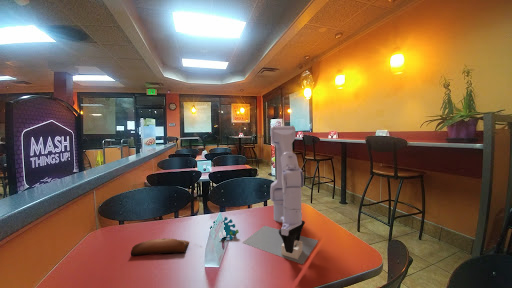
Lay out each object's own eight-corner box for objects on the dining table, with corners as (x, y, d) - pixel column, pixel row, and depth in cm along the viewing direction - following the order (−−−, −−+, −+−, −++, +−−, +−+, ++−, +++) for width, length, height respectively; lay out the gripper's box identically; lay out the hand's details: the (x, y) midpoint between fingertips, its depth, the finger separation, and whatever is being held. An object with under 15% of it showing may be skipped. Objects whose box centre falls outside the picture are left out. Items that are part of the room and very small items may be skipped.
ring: (287, 246, 71) (287, 238, 71) (302, 250, 69) (302, 241, 69) (281, 254, 67) (281, 245, 67) (297, 259, 64) (297, 249, 64)
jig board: (264, 227, 88) (264, 225, 88) (318, 243, 75) (318, 240, 75) (241, 245, 74) (241, 242, 74) (302, 267, 62) (302, 264, 62)
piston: (290, 250, 69) (290, 238, 69) (296, 252, 68) (296, 240, 68) (288, 253, 67) (288, 241, 67) (294, 255, 66) (294, 243, 66)
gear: (205, 240, 75) (214, 214, 82) (208, 244, 80) (216, 219, 86) (234, 246, 74) (241, 219, 80) (235, 250, 78) (242, 224, 85)
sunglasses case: (191, 240, 78) (188, 230, 74) (187, 259, 72) (184, 249, 68) (142, 243, 76) (136, 233, 73) (134, 263, 71) (128, 252, 67)
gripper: (288, 198, 75) (288, 234, 76) (271, 212, 62) (272, 255, 63) (307, 201, 72) (307, 239, 72) (294, 216, 59) (294, 261, 60)
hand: (292, 247), depth 68 cm, fingers open, 6 cm apart
